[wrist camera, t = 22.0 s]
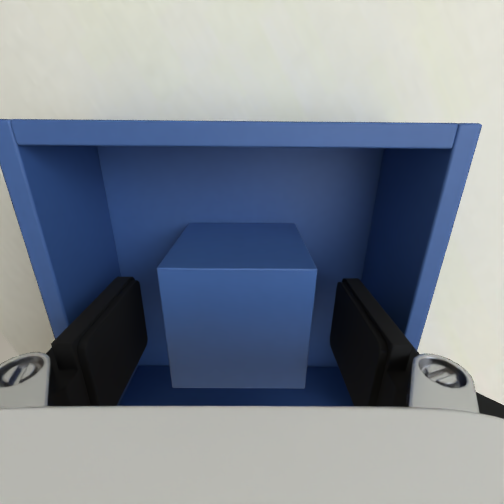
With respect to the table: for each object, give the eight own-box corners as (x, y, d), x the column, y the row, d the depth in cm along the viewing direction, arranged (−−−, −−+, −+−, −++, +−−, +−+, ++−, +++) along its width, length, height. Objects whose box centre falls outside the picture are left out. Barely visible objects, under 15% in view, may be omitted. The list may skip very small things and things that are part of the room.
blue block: (196, 311, 14) (171, 388, 10) (189, 222, 12) (155, 267, 8) (289, 312, 14) (305, 389, 10) (295, 223, 12) (318, 268, 8)
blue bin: (133, 365, 16) (89, 450, 12) (86, 125, 11) (-16, 118, 7) (352, 366, 16) (388, 451, 12) (395, 128, 11) (484, 123, 7)
